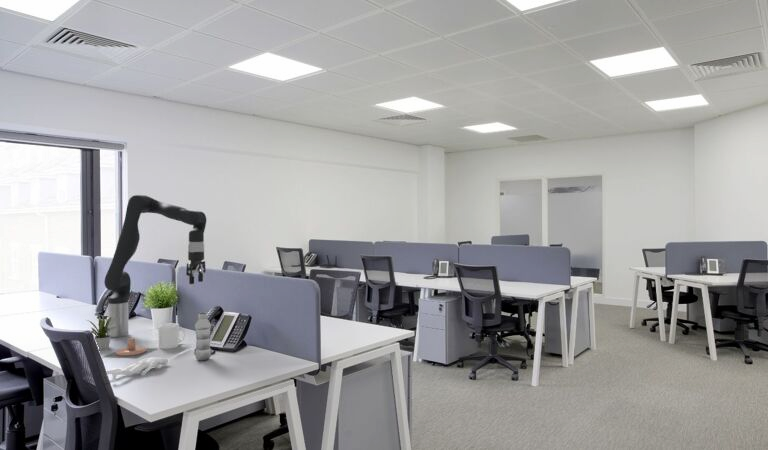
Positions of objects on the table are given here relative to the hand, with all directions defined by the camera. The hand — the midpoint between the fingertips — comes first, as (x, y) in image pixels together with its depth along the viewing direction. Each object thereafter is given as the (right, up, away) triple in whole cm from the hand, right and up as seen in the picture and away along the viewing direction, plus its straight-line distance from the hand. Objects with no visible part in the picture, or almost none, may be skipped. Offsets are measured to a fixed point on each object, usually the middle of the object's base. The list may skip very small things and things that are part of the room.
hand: (196, 282), depth 241 cm
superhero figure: (-1, -30, -53) cm, 61 cm away
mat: (-18, -29, -27) cm, 44 cm away
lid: (-18, -28, -27) cm, 43 cm away
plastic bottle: (+17, -29, -35) cm, 49 cm away
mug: (-5, -29, -15) cm, 33 cm away
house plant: (-34, -29, -20) cm, 49 cm away
